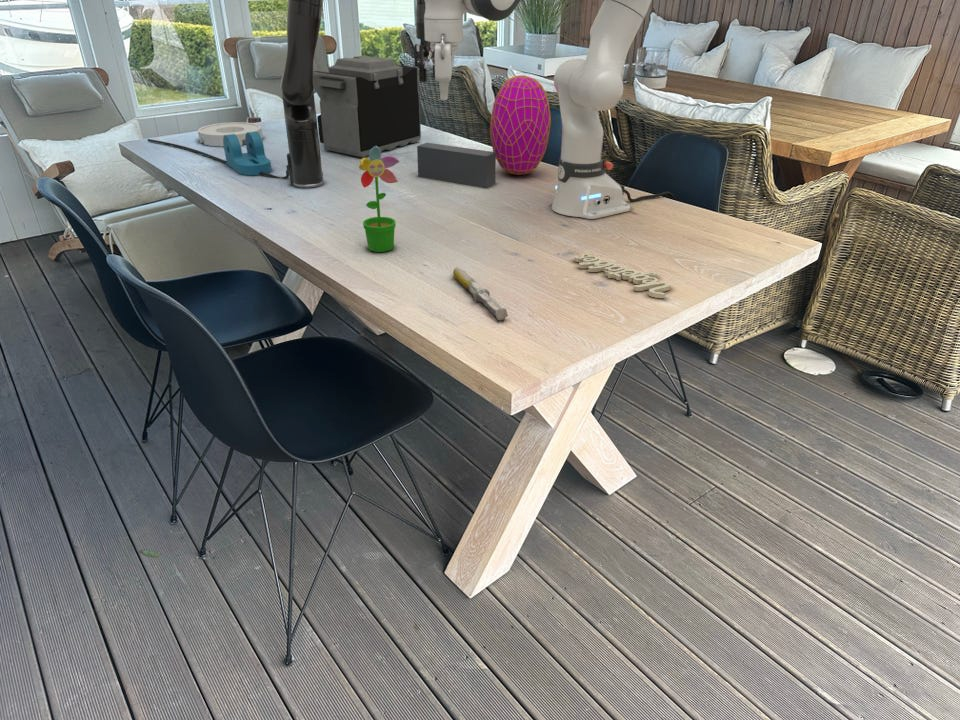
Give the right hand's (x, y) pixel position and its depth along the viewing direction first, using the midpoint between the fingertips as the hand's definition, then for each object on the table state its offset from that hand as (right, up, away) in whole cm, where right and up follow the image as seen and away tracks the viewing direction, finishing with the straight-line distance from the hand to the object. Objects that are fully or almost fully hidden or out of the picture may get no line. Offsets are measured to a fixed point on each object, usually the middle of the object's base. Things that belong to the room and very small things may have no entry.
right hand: (444, 96), depth 165 cm
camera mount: (-68, +1, +65) cm, 94 cm away
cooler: (-32, +17, +94) cm, 100 cm away
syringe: (+8, -50, -20) cm, 54 cm away
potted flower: (-16, -36, +4) cm, 39 cm away
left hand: (-7, +22, +45) cm, 50 cm away
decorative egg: (+21, -2, +63) cm, 66 cm away
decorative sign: (+41, -44, -9) cm, 61 cm away
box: (+1, -5, +56) cm, 56 cm away
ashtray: (-87, +22, +100) cm, 135 cm away
